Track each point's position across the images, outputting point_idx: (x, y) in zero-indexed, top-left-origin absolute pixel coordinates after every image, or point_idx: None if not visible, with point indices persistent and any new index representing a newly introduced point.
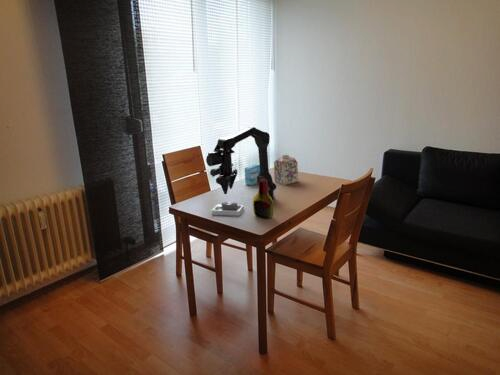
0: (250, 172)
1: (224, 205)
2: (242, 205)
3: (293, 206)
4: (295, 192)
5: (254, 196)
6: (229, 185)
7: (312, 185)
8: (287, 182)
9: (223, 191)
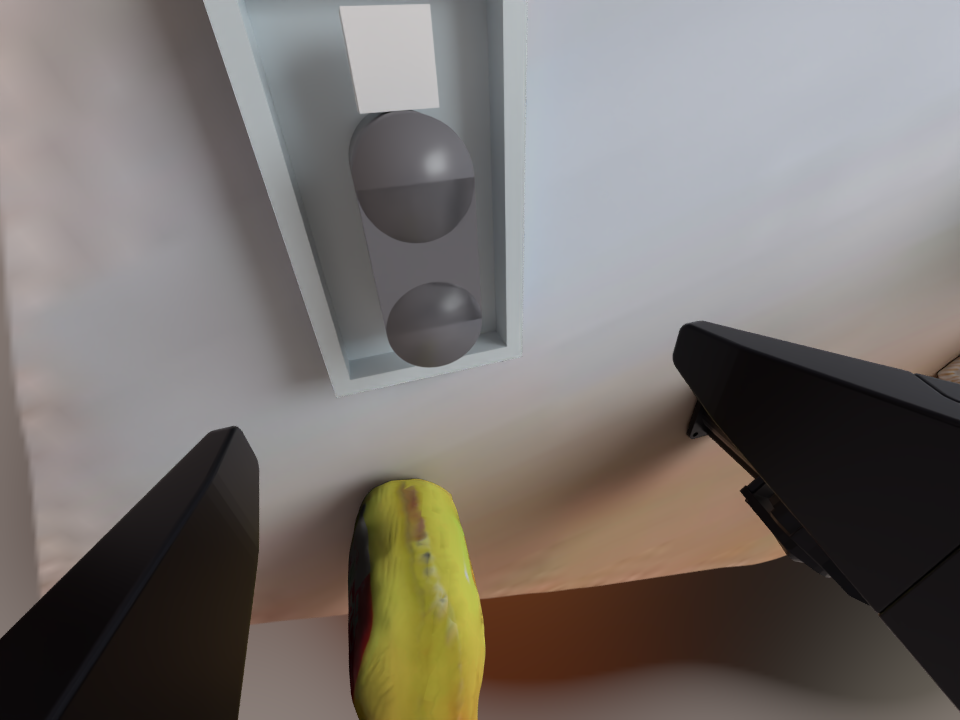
0: None
1: (358, 199)
2: (517, 349)
3: (582, 549)
4: None
5: (417, 663)
6: (754, 369)
7: None
8: None
9: (136, 507)
